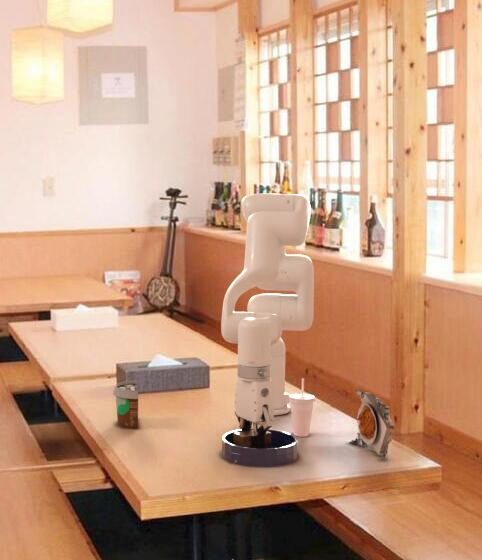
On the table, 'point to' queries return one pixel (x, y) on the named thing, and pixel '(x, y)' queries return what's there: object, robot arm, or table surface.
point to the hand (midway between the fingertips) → (252, 448)
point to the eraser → (249, 439)
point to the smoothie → (301, 412)
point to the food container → (127, 404)
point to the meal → (373, 424)
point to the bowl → (262, 450)
